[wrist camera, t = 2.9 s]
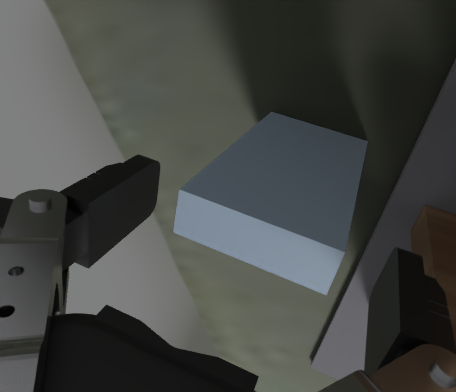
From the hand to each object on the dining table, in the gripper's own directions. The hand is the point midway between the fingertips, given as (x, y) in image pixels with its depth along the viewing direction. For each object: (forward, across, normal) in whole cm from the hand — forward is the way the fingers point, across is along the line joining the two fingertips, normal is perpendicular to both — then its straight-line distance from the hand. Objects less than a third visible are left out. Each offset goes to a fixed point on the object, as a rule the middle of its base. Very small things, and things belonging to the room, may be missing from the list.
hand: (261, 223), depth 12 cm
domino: (+8, 0, 0) cm, 9 cm away
